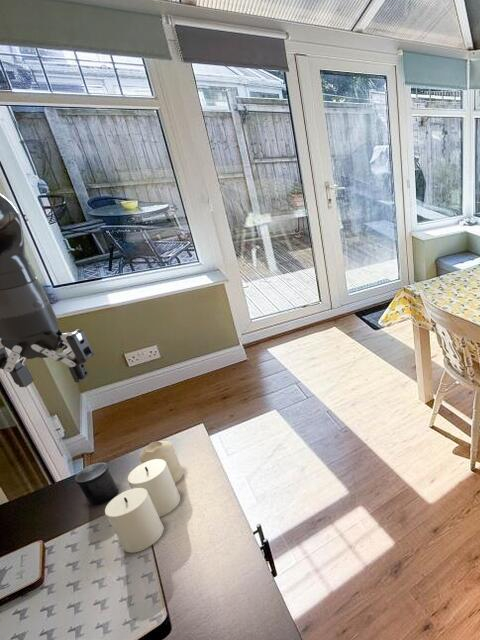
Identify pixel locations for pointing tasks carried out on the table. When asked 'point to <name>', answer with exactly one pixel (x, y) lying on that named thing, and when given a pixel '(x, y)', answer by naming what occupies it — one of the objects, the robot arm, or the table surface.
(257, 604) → the table surface
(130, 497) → the candle
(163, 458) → the candle
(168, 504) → the candle
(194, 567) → the table surface
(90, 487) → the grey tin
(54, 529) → the table surface
